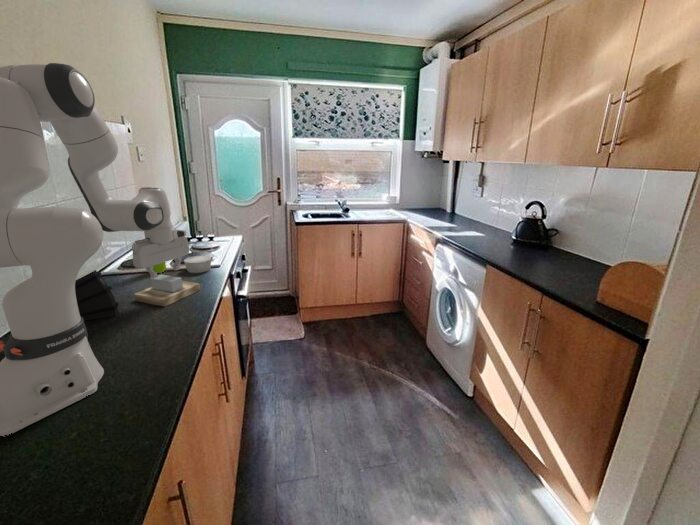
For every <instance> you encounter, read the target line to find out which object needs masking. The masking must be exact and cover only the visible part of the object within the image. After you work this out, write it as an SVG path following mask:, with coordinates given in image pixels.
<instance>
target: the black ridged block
mask: <svg viewBox="0 0 700 525" xmlns="http://www.w3.org/2000/svg"><path fill="white" fill-rule="evenodd" d="M112 289H113V288H112V286H111V285H108V284H107V282H106V281H105V279H104V278H103V277H102V273H101V271H100V272H98V271H97V270H96V269H95V270H93V271H91V272H89V273H88V274H85V275H84V276H82V277H79V278H78V279H77V278H76V282H75V293H76V299H77V305H78V309H79V313H80V316H81V317H82V318H83V320H84V321H90V320H100V319H108V318H116V317H117V316H118V315H119V308H118V307H119V306H120V305H119V302H116V299H115V296H114V294H113V293H112Z"/></svg>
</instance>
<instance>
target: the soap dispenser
mask: <svg viewBox="0 0 700 525" xmlns="http://www.w3.org/2000/svg"><path fill="white" fill-rule="evenodd" d="M153 267H154V268H153V269H152V270H153V271H154V272H157V273H160V274H163V273H162V272H164V271H165V270H166V269H167V265H166V262H163V263H160V264H157V265H153ZM164 273H165V272H164Z"/></svg>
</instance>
